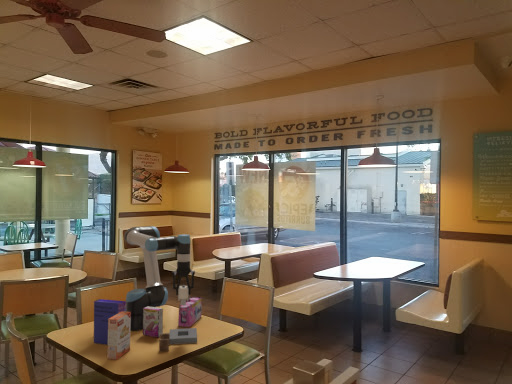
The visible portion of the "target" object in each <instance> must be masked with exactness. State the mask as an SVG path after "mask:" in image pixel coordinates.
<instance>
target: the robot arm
mask: <svg viewBox="0 0 512 384" xmlns="http://www.w3.org/2000/svg"><path fill="white" fill-rule="evenodd" d="M123 237H124V241H125V243H127V244H129V245H131V246H139V248H140V249H142V254H143V260H144V261H143V262H144V269H145V276H146V286H145V287H144V288H134V289H131V290H130V291H128V292H127V293H126V294H125V295H126V296H125V301H126V312H131V329H130V332H138V331H143V308H145V307H147V306H149V307H157V308H161V307H162V306H165V305H166V303H167V302H168V299H169V292H168V289H167V287H164V283H162V282H161V277H160V269H159V262H158V256H157V251H168V250H170V251H171V250H176V251H177V252H176V253H177V255H176V260H177V263H176V270H175V271H171V275H172V286H173V287H172V288H173V289H174V290H176V291H175V294H176V296H177V298H178V299H177V302H181V299H179V293H180V285H181V280H182V278H185V280H186V286H187V299H186V300H187V301H188V299H189V295H191V291H192V289H194V287H195V286H194V284H195V283H194V282H195V281H194V279H195V275H196V274H195V273H196V271H195V270H193V269H191V242H192V241H191V236H190V234H189V233H188V234H187V233H185V234H178V235H177V236H176V235H171V236H165V237H161V234H160V231H159V229H158V228H157V227H156V226H154V225H153V226H151V225H147V226H145V225H144V226H133V227H130V228H128V229H127V230H126V231H125V233H124V235H123ZM176 275H178V280H177V284H176ZM189 275H191V283H190V279H189Z"/></svg>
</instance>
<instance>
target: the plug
mask: <svg viewBox="0 0 512 384" xmlns="http://www.w3.org/2000/svg"><path fill="white" fill-rule="evenodd" d="M179 289H180V293H179V299H180V304H181V305H186V300H187V289H188V285H185V284H183V285H179Z"/></svg>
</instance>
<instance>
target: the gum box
mask: <svg viewBox="0 0 512 384" xmlns="http://www.w3.org/2000/svg"><path fill="white" fill-rule="evenodd" d="M202 300H203V299H202V296H190V297H188V301H187V299H186V305H181V303H180V304H178V322H177V324H178V325H177V327H185V328H190V327H191V326H193V324H195V323H196V322H197V321H198V320H199V319H201V318H202V317H201V316H202V313H203V311H202V310H203V309H202ZM200 317H201V318H200Z"/></svg>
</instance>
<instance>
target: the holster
mask: <svg viewBox="0 0 512 384" xmlns="http://www.w3.org/2000/svg"><path fill="white" fill-rule="evenodd" d="M169 339H170V333H169V332H166V333H165V332H163V333H161V334H160V337H159V341H158V343H159V344H158V345H159V346H158V348H159V349H158V351H159V352H169V350H170V344H169Z"/></svg>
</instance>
